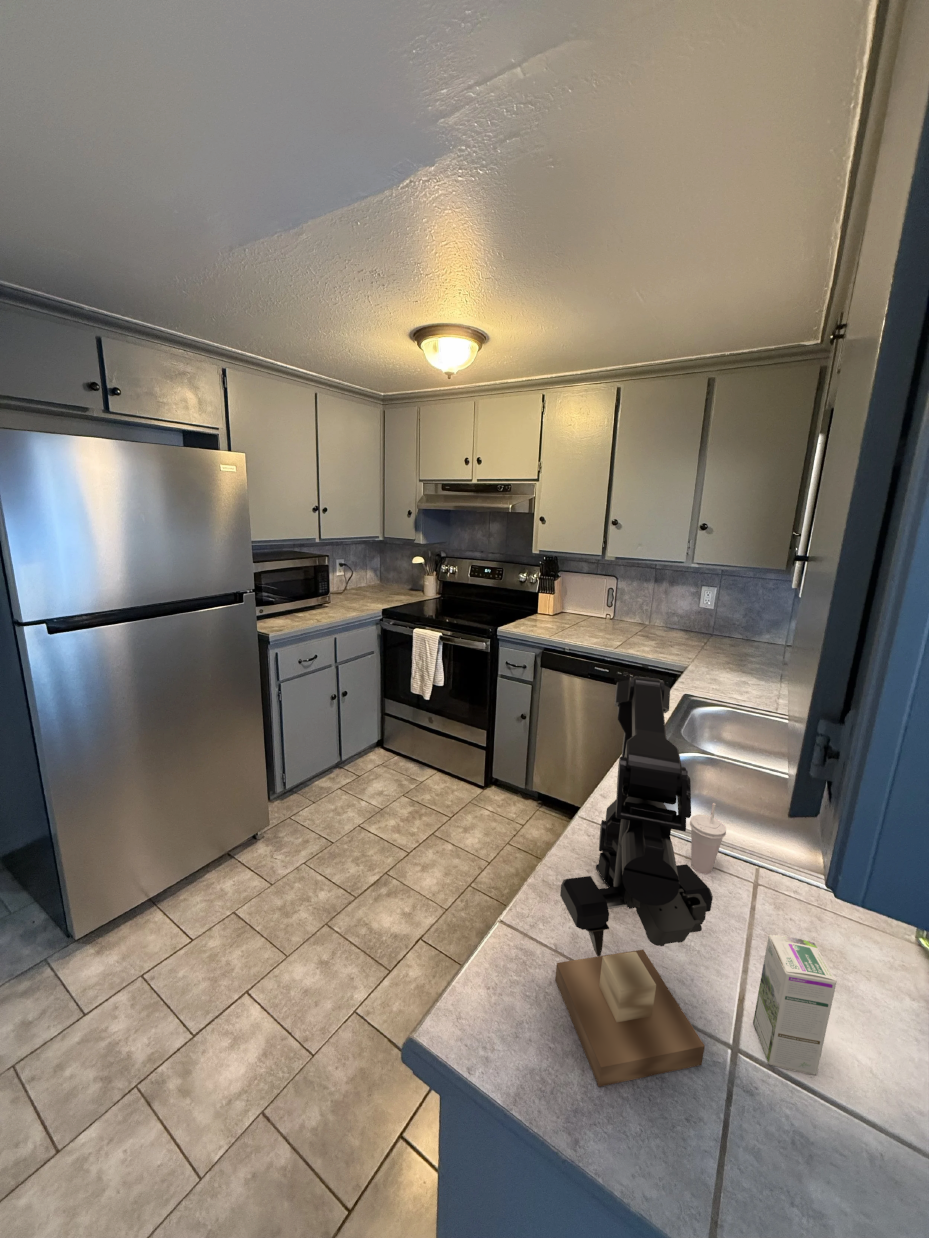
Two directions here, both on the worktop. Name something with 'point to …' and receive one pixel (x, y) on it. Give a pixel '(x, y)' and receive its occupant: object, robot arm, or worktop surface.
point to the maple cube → (627, 986)
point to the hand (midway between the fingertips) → (628, 948)
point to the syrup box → (793, 1004)
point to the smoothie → (705, 841)
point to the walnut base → (626, 1026)
